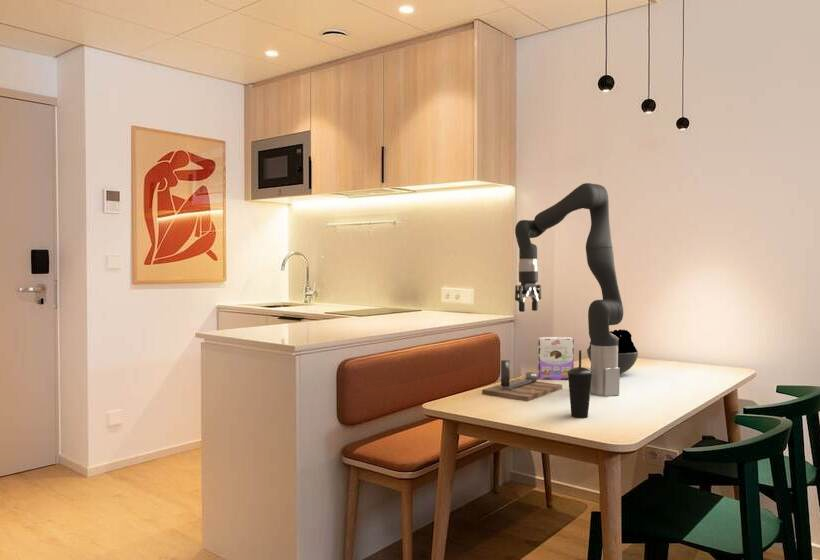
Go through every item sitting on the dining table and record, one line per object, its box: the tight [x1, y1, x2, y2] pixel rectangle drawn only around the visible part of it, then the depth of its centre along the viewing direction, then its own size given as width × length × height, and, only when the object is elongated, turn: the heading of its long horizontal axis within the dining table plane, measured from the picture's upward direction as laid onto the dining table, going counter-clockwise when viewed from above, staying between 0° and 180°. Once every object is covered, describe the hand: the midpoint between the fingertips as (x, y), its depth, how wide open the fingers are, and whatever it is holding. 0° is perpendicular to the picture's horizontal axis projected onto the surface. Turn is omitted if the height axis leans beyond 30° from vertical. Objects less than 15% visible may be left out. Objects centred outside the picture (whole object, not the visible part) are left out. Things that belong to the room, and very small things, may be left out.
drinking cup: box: [567, 350, 593, 419], centre depth 194 cm, size 8×8×20 cm
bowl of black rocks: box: [586, 328, 639, 375], centre depth 263 cm, size 20×20×19 cm
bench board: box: [481, 378, 563, 402], centre depth 230 cm, size 26×18×2 cm
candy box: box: [536, 336, 575, 381], centre depth 254 cm, size 14×6×16 cm, turn 84°
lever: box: [500, 359, 538, 390], centre depth 231 cm, size 22×4×10 cm, turn 141°
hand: (528, 311), depth 255 cm, fingers open, 8 cm apart
